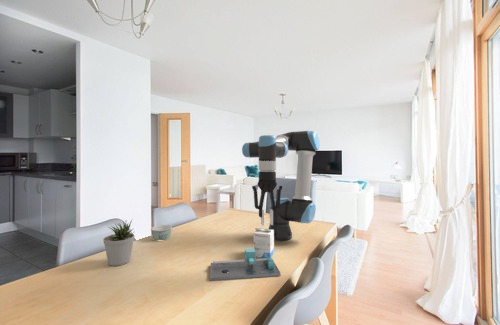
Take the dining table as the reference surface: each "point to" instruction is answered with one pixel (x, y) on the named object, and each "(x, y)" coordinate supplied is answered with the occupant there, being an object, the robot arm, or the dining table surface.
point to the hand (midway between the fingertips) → (267, 224)
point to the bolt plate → (243, 269)
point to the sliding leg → (250, 256)
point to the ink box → (263, 242)
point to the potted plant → (119, 245)
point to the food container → (161, 232)
